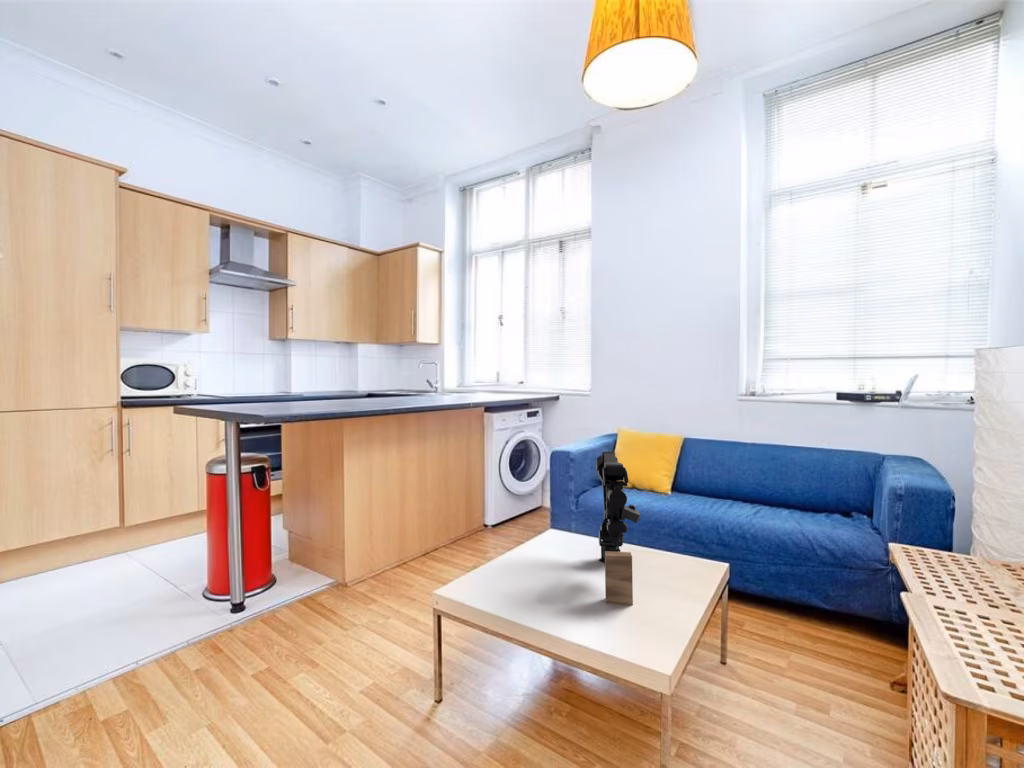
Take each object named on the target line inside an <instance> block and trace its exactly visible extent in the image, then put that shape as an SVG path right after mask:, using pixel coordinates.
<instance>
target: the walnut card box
mask: <svg viewBox="0 0 1024 768" xmlns="http://www.w3.org/2000/svg"><path fill="white" fill-rule="evenodd" d="M604 577H605V578H604V581H605V585H604V586H605V587H604V588H605V591H604V592H605V595H604V596H605V603H606V605H619V604H620V605H622V606H634V599H633V598H634V594H633V593H634V592H633V590H634V588H633V556H632V552H630V551H620V552H612V551H605V562H604Z"/></svg>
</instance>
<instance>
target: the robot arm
mask: <svg viewBox="0 0 1024 768" xmlns="http://www.w3.org/2000/svg"><path fill="white" fill-rule="evenodd" d="M595 461H596V462H595V470H596V471H597V476H598V478H599V479H600V481H601V485H602V500H603V501H602V502H603V504H602V505H603V521H602V522H601V524H600V529H599V530H598V544H599V547H600V558H599V560H598V561H599V562H602V563H605V551H612V552H621V549H620V548H621V547H623V545H624V534H625V533H628V526H627V524H626V522H625V520H628V521H632V522H633V523H636V524H638V522H639V520H640V517H641V513H640V511H639V510H637V509H636V506H635V505H633V504H629V505H628V506H626V504H627V503H628V497H627V494H626V493H625V491H624V488H623V487H628V483H629V477H628V470H627V469H626V467H624V464H623V463H621V462H619V461H618V457H617V455H616V453H615V451H601V454H600V455H599V456H598V457H597V458H596V460H595Z"/></svg>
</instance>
